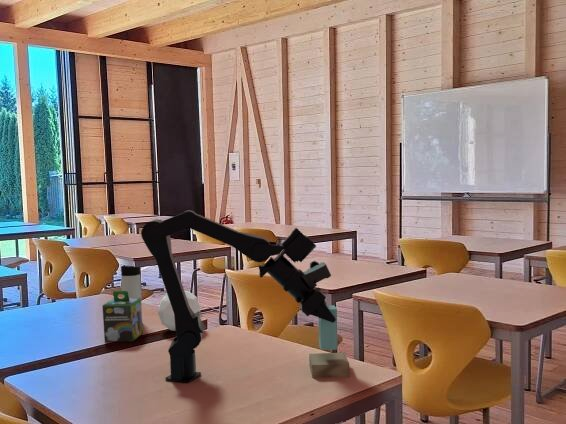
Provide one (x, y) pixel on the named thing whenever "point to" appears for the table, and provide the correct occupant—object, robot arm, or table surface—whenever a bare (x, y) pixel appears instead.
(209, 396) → the table surface
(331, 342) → the pillar brick
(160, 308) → the geodesic sphere
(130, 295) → the travel mug
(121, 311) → the chalk box
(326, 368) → the base brick
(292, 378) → the table surface
